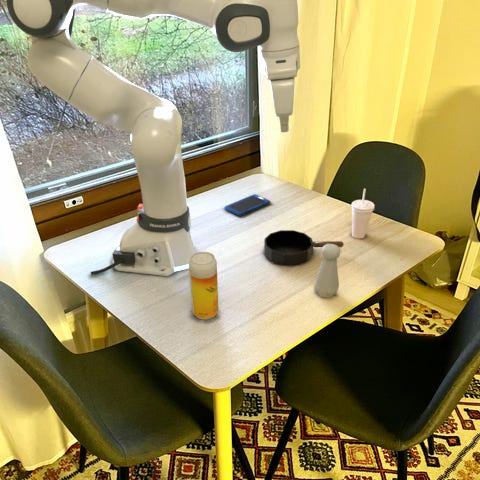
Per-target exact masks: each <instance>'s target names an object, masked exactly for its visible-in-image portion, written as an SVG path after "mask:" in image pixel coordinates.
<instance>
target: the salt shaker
mask: <svg viewBox="0 0 480 480" xmlns="http://www.w3.org/2000/svg"><path fill="white" fill-rule="evenodd" d="M320 255H321V257H322V260H321V263H320V267H319V270H318V273H317V275H316V278H315V282H314V289H315V292H316V294H317V295H318V296H319V297H320V298H326V299H330V298H332V297H334V296H335V295H336V293H337V292H338V291H339V288H340V287H339V286H340V283H339V282H340V281H339V271H338V258H339V257H340V255H341V247H338V246H337V245H334V244H326V245H324V246H323V247H321V252H320Z"/></svg>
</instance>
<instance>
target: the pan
mask: <svg viewBox="0 0 480 480" xmlns="http://www.w3.org/2000/svg"><path fill="white" fill-rule="evenodd" d="M326 244H334V245H337V246H338V247H339V248H343V247H344V244H345V243H344V242H343V241H341V240H340V241H338V240H336V241H334V240H333V241H332V240H330V241H327V240H326V241H324V240H321V241H317V240H316V241H313V238H312V237H310V235H308V234H307V233H305V232H301V231H297V230H292V229H282V230H277V231H274V232H271V233H269V234H267V236H265V238H264V240H263V251H264V252H263V254H264V257H265V259H267V261H269V262H271V263H273V264H275V265H279V266H284V267H295V266H300V265H303V264H306V263H308V262H309V261H310V260H311V259H312V256H313V253H314V248H322V247H323V246H324V245H326Z"/></svg>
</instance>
